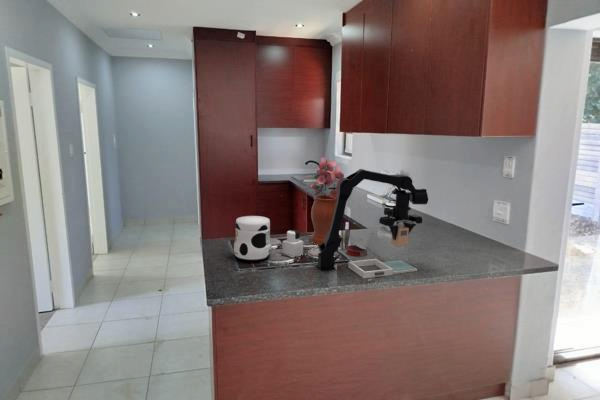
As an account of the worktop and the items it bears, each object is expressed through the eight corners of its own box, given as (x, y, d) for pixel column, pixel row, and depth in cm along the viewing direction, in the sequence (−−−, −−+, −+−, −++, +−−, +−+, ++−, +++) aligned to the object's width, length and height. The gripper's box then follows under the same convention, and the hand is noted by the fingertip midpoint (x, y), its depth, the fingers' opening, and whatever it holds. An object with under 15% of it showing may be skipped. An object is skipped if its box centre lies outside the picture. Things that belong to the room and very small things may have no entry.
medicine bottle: (291, 252, 198) (292, 228, 195) (303, 255, 193) (304, 230, 191) (282, 255, 192) (282, 230, 190) (293, 258, 188) (294, 233, 186)
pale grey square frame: (364, 279, 165) (365, 273, 165) (348, 267, 179) (348, 261, 178) (394, 275, 170) (394, 269, 170) (375, 264, 184) (375, 258, 183)
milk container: (229, 253, 192) (229, 216, 189) (264, 250, 199) (265, 214, 196) (239, 265, 177) (239, 225, 173) (276, 261, 183) (277, 222, 180)
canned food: (352, 259, 204) (357, 240, 206) (368, 262, 197) (373, 242, 199) (339, 253, 197) (344, 233, 199) (355, 256, 189) (361, 235, 192)
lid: (391, 274, 172) (392, 271, 172) (376, 264, 183) (377, 262, 183) (417, 271, 177) (417, 268, 176) (401, 262, 188) (401, 259, 187)
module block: (398, 247, 174) (399, 229, 173) (391, 243, 179) (392, 226, 178) (408, 246, 176) (409, 228, 175) (400, 242, 181) (402, 225, 180)
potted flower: (323, 233, 233) (326, 155, 225) (355, 244, 213) (360, 158, 205) (297, 238, 221) (300, 155, 213) (328, 250, 202) (332, 159, 193)
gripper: (409, 200, 185) (406, 233, 188) (373, 201, 179) (371, 236, 182) (424, 204, 175) (421, 239, 178) (387, 206, 169) (385, 242, 171)
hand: (399, 239), depth 178 cm, fingers closed on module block, 5 cm apart
